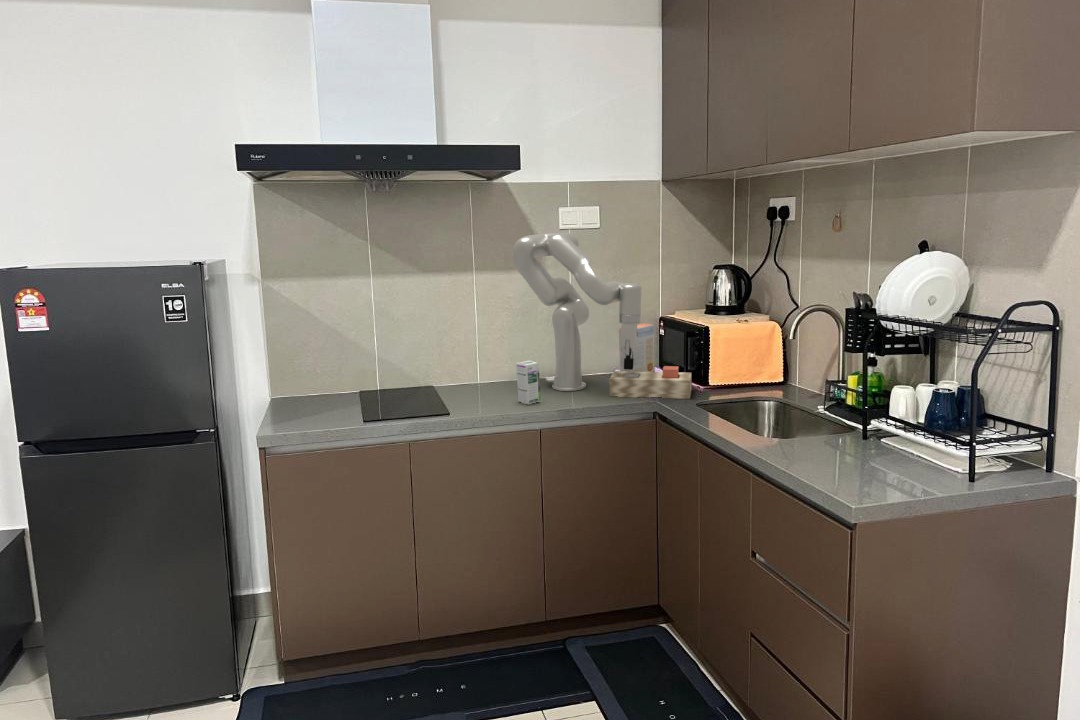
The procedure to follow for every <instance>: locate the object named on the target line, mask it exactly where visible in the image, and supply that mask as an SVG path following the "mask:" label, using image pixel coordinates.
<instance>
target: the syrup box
mask: <svg viewBox="0 0 1080 720" xmlns="http://www.w3.org/2000/svg"><path fill="white" fill-rule="evenodd" d="M515 364H516V381H517V395H518V396H517V397H518V398H517V399H518V402H519V401H521V402H525V403H533V402H538V401H542V398H541V380H540V378H541V377H540V365H539V364H540V363H539V362H538V361H534V360H525V361H521V362H516V363H515Z"/></svg>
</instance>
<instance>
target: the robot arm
mask: <svg viewBox="0 0 1080 720" xmlns="http://www.w3.org/2000/svg"><path fill="white" fill-rule="evenodd" d="M579 245H580V243H579V239H578V238H577V236H575V234H574V233H572V232H569V231H566V232H556V233H555V232H553V233H538V234H537V233H536V234H532V235H531V234H530V235H525V236H522V237H520V238H519V239H517V241H515V243H514V246H513V248H512V252H511V254H512V262H513V264H514V267H515V268H516V270H517V271H518V273H519V275H521V277H522V278H523V279H524V280H525V282H526V283H527V285H528V286H529V287H530V288H531V290H532V291H533V293H534V294H535V295H536V296H537V298H538V299H539V300H540V302H541V303H542V304H543V305H545V306H548V307H551V306H553V307H554V306H556V305H557V307H555V309H554V310H553V312H552V316H551V322H552V328H553V334H554V347H555V348H554V349H555V352H554V353H555V375H553V376H551V375H546V376H545V377H544V379H545V380H544V381H545V382H547V383H552V388H553V389H554V390H556V391H561V392H574V391H581V390H583V389H585V388H586V387H587V384H586V382H584V381H583V380H582V379H583V378H582V377H583V375H582V343H581V342H582V341H581V334H580V330H579V326H582V325H583V324H585V323H586V322H587V321H588V319H589V317H590V310H589V306H588V305H587V303H586V301H585V300H584V299H583V298H582V297H581V295H580V293H578V291H577V290H576V288H575V287H574V286H573V284H571V283H570V282H569V281H568V280H567V279H565V278H561V277H555V278H553V276H552V275H551V274H550V272H548V270H547V268H546V267H544V265H543V264H541V262H539V261H538V260H537V258H540V257H541V258H542V257H553V258H554V259H556V261H558V262H559V263H560V264H561V266H563V267H564V268H566V270H568V271H569V272H570V273H571V274H572V275H573V276H574V279H575V281H576V283H577V284H578V287H580V289H581V290H582V291H583V292H584V294H586V295H587V296H588V297H589V298H590V299H591V300H593V301H594V302H595V303H597V304H598V305H601V306H608V305H610V304H613V303H614V304H615V303H616V302H617V303H618V302H619V309H618V310H619V314H618V316H619V317H618V323H619V324H621V326H620V327H621V328H620V329H621V340H620V348H619V352H620V351H622V350H623V349H624V348H625V351H624V369H628V370H632V369H633V359H634V358H633V351H634V349H635V347H636V340H637V325H639V324H641V315H642V314H641V313H642V286H641V285H640V284H638V283H633V282H628V283H625V282H621V281H616V280H611V281H608V282H607V281H606V282H604V281H603V280H602V279H601V278H599V277H598V275H597V274H595V273H594V271H593V269H592V266H591V257H590V256H589V255H588V254H587V253H585V252H584V251H583V250H582V249H581V248H580V247H579Z"/></svg>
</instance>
